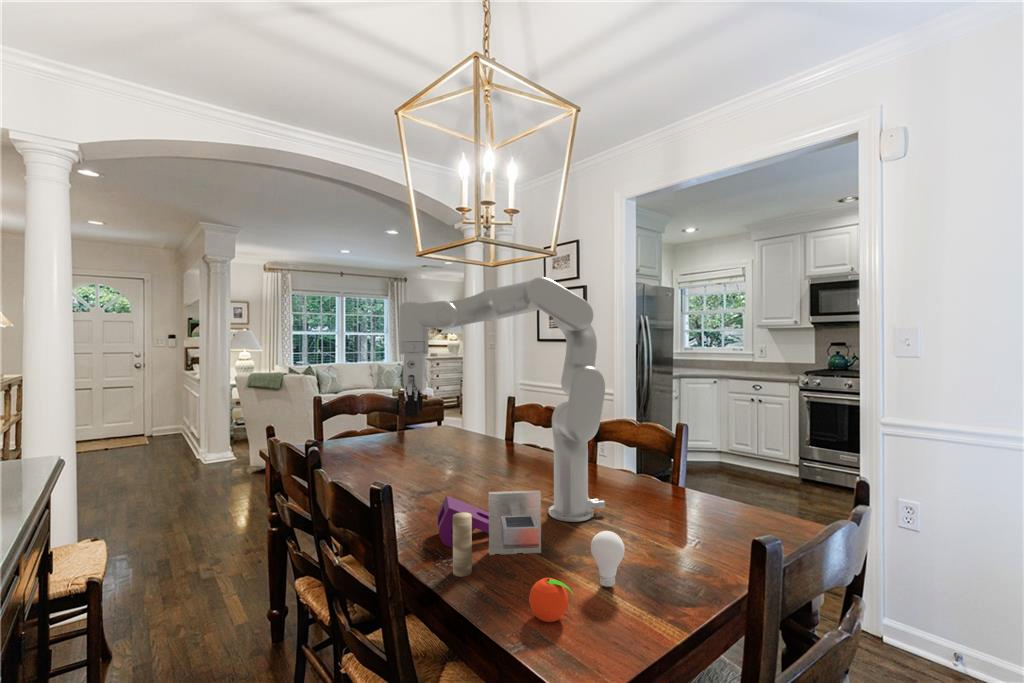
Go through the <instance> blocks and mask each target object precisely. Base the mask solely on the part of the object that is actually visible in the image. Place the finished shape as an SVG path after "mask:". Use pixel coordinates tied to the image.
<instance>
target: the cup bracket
mask: <svg viewBox="0 0 1024 683" xmlns="http://www.w3.org/2000/svg"><path fill="white" fill-rule="evenodd" d="M488 513H489V533H488V554H489V556H494V555H495V554H500V555H518V554H517V553H523V554H541V553H542V492H541V490H540V489H539V490H515V491H514V490H513V491H488ZM495 556H496V555H495Z"/></svg>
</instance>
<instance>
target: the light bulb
mask: <svg viewBox="0 0 1024 683" xmlns="http://www.w3.org/2000/svg"><path fill="white" fill-rule="evenodd" d="M625 550H626V549H625V544H624V541H623V540H622V538H621V537H620V536H619V535H618V534H617V533H615V532H613V531H611V530H603V531H599V532H598V533H597V534H595V535H594V537H593V538H592V540H591V543H590V553H591V556H592V557H593V559H594V562H595V563H596V566H597V567H598V573H599V575H600V577H599V583H600V585H602V586H603V587H605V588H608V589H609V588H611V587H614V586H615V584H616V577H615V576H617V575H616V574H617V571H618V570H617V569H618V567H619V565H620V564H621V562H622V560H623V559H624V555H625V553H626V552H625Z"/></svg>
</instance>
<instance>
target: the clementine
mask: <svg viewBox="0 0 1024 683" xmlns="http://www.w3.org/2000/svg"><path fill="white" fill-rule="evenodd" d="M566 589H567V590H568V591H569V592H570V593H571V594H572V597H573V598H575V596H574V593H573V591H572V590H571V588H570V587H569V586H568V585H566V584H565V583H564V582H562V581H559V580H557V579H556V578H553V577H544V578H543V577H542V578H541V579H539V580H538V581H536V582H535V583H534V584H533V585H532V587H531V589H530V592H529V599H528V601H529V606H530V609H531V611H532V613H533V615H534V616H535V617H536V618H537V619H539V620H540V621H542V622H545V623H553V622H556V621H558V620H561V619H562V618H563V616H564V615H565V614H566V612H567V610H568V607H569V595H568V592H567V590H566Z"/></svg>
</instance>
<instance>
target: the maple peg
mask: <svg viewBox="0 0 1024 683" xmlns="http://www.w3.org/2000/svg"><path fill="white" fill-rule="evenodd" d="M472 536H473V532H472V515H471V514H470V513H465V512H461V513H456V514H454V515H453V547H452V574H453V575H454V576H456V577H460V578H462V577H468V576H470V575H471V574H472V572H473V560H472V559H473V558H472V557H473V555H472V554H473V551H472V550H473V547H472V546H473V544H472V543H473V541H472V540H473V539H472V538H473V537H472Z"/></svg>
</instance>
